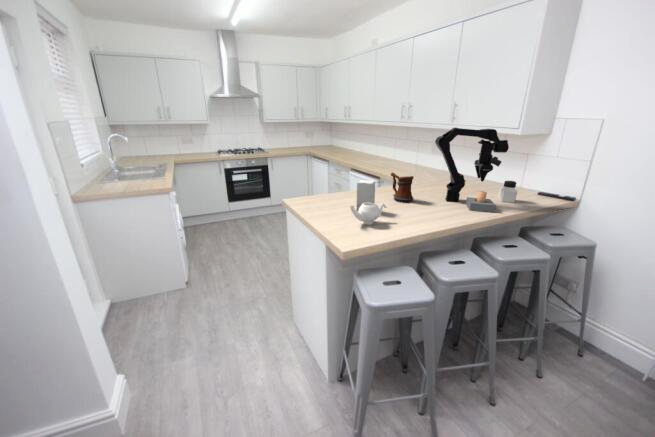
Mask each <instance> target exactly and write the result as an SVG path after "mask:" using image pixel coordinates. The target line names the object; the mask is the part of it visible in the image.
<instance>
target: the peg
mask: <svg viewBox="0 0 655 437" xmlns="http://www.w3.org/2000/svg"><path fill="white" fill-rule="evenodd" d="M476 198H477V202H482V203H485V199H487V192H486V191H481V190H480V191H478V193H477V197H476Z"/></svg>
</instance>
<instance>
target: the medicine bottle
mask: <svg viewBox="0 0 655 437" xmlns="http://www.w3.org/2000/svg"><path fill="white" fill-rule="evenodd" d="M516 185H517V182H516V181H514V180H505V181H504V183H503V187H502V186H501V187H500V188H499V191H498V192H499V193H498V196H497V199H498V200H499V201H500V202H502V203H512V204H513V203H516V199H517V195H518V190H516V187H517V186H516Z"/></svg>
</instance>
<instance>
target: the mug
mask: <svg viewBox="0 0 655 437" xmlns="http://www.w3.org/2000/svg"><path fill="white" fill-rule="evenodd" d="M390 176H391V177H392V182H393V183H392V190H393V191H394V193H395V194H393V200H394V201H396V202H398V203H401V202H402V203H405V204H410V203H412V202H414V196H413V194H412V184H413V180H414V177H415V176H413V175H411V176H399V175H397V174H396V173H394V172H391V173H390ZM396 179H397V180H398V181H397V180H396ZM397 186H398V187H397ZM397 188H398V189H397Z"/></svg>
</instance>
